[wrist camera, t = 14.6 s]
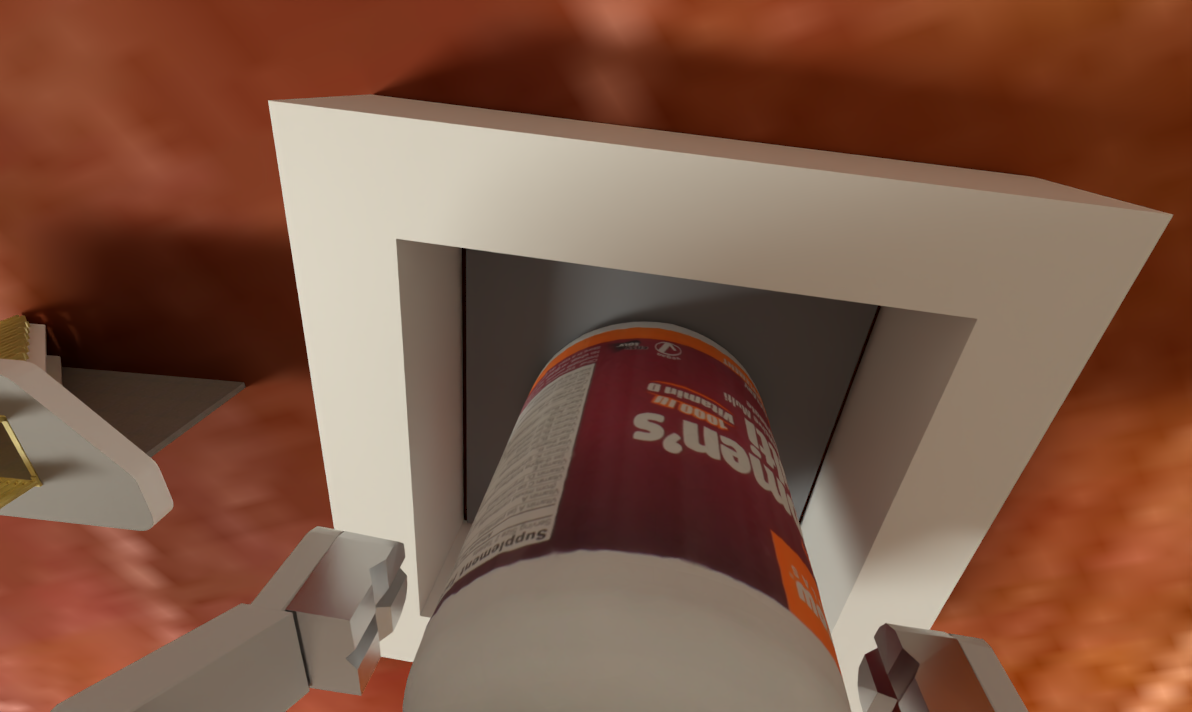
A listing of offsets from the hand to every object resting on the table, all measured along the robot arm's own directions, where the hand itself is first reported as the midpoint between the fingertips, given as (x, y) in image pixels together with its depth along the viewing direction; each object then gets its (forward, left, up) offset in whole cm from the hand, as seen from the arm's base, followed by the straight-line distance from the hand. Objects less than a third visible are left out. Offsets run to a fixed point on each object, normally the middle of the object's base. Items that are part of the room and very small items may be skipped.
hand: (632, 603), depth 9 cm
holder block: (0, 0, -6) cm, 6 cm away
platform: (+16, +1, -7) cm, 17 cm away
